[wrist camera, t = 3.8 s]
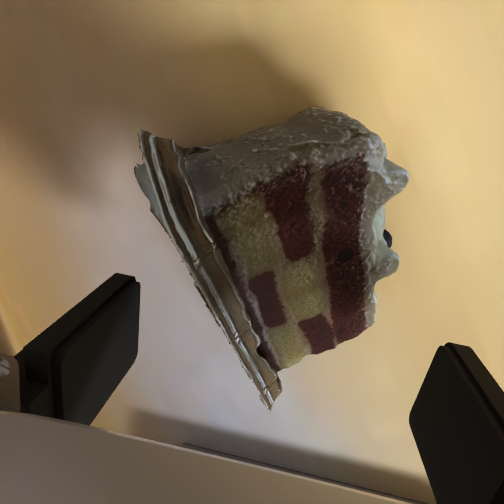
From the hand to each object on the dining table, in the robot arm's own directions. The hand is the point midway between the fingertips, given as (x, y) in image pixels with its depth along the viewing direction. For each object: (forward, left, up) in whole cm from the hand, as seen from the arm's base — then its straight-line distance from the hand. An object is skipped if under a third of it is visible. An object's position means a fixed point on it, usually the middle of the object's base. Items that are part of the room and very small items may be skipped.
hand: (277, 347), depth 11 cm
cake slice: (-1, +2, -7) cm, 7 cm away
